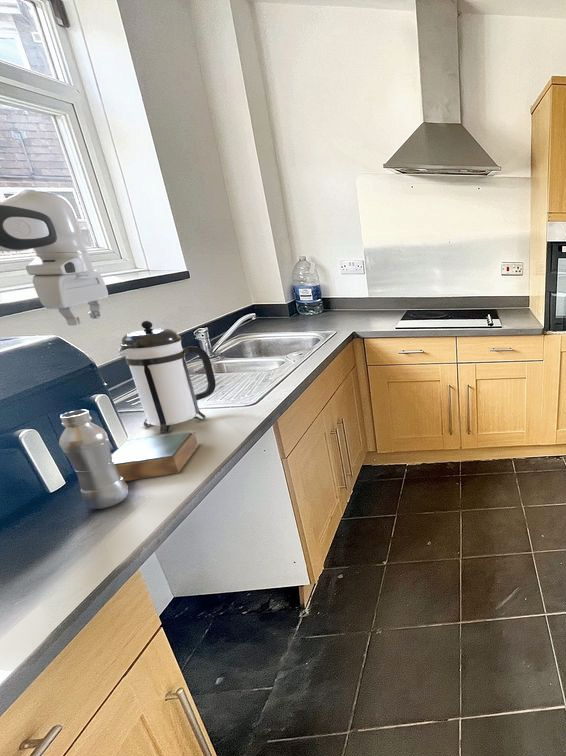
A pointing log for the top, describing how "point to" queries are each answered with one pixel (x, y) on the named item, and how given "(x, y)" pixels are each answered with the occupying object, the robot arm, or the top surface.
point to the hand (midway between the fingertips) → (86, 321)
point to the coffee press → (164, 375)
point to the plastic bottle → (92, 460)
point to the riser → (154, 455)
